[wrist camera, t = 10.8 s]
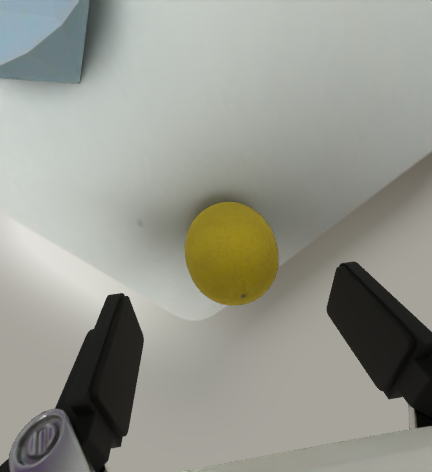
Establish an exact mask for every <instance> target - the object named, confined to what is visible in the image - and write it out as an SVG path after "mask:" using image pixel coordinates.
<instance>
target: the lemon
mask: <svg viewBox="0 0 432 472" xmlns="http://www.w3.org/2000/svg"><path fill="white" fill-rule="evenodd" d="M185 257H186V264H187V267H188V270H189V273H190V275H191V277H192V280H193V282H194V283H195V285H196V286H197V287H198V289H199V290H200V291H201V292H202V293H203V294H204V295H205V296H207V297H208V298H210V299H211V300H213V301H215V302H218V303H221V304H225V305H243V304H247V303H249V302H252V301H254V300H256V299H257V298H259V297H261V296H262V295H263V294H264V293H265V292H266V291H267V290H268V289H269V287H270V286H271V284H272V283H273V281H274V279H275V276H276V273H277V270H278V248H277V244H276V241H275V238H274V234H273V232H272V230H271V228H270V227H269V225H268V224H267V222H266V221H265V219H264V218H263V217H262V216H261V215H260V214H259V213H257V212H256V211H255V210H253V209H252V208H251V207H248V206H246V205H243V204H241V203H236V202H220V203H217V204H214V205H211V206H209V207H208V208H206V209H205V210H203V211H201V212H200V213H199V215H198V216H197V217H196V218H195V219H194V220H193V222H192V224H191V226H190V228H189V230H188V233H187V237H186V242H185Z"/></svg>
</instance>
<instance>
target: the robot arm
mask: <svg viewBox="0 0 432 472" xmlns="http://www.w3.org/2000/svg"><path fill="white" fill-rule="evenodd" d="M327 313H328V315H329V317H330V318H331V320H332V321H333V323H334V324H335V326H336V327H337V329H338V330H339V332H340V333H341V335H342V336H343V338H344V339H345V341H346V342H347V344H348V345H349V347H350V348H351V350H352V351H353V352H354V354H355V356H356V357H357V358H358V360H359V361H360V363H361V364H362V366H363V367H364V369H365V370H366V372H367V373H368V375H369V376H370V378H371V379H372V381H373V382H374V384H375V385H376V386H377V388H378V389H379V390H381V391H383V392H384V393H385V395H386V396H387V397H388V399H393V398H399V397H402V396H403V397H404V399H405V400H406V401H407V402H408V408H409V430H403V431H398V432H393V433H387V434H382V435H376V436H370V437H365V438H359V439H354V440H349V441H342V442H337V443H331V444H326V445H321V446H316V447H310V448H304V449H299V450H294V451H288V452H283V453H278V454H272V455H267V456H261V457H257V458H251V459H246V460H241V461H235V462H230V463H225V464H220V465H214V466H210V467H204V468H199V469H193V470H188V471H183V472H432V332H431V331H430V330H429V329H428V328H427V327H426V326H425V325H423V324H422V323H421V322H420V321H419V320H418V319H417V318H416V317H415V316H414V315H413V314H412V313H411V312H410V311H408V310H407V309H406V308H405V307H404V306H403V305H402V304H401V303H400V302H398V300H397V299H396V298H394V297H393V296H392V295H391V294H390V293H389V292H388V291H387V290H386V289H385V288H384V287H382V286H381V284H379V283H378V282H377V281H376V280H375V279H374V278H373V277H372V276H371V275H370V274H369V273H368V272H366V271H365V270H364V269H363V268H362V267H361V266H360V265H359V264H358V263H356V262H347V263H342V264H340V266H339V267H338V268H337V269H336V272H335V276H334V280H333V284H332V289H331V293H330V296H329V301H328V305H327ZM143 342H144V338H143V334H142V331H141V328H140V326H139V323H138V320H137V318H136V315H135V312H134V310H133V307H132V304H131V302H130V299H129V297H128V296H124V294H123V293H120V294H113V295H108V296H107V298H106V301H105V303H104V306H103V308H102V310H101V313H100V315H99V318H98V321H97V323H96V325H95V328H94V329H92V330H90V331H89V332H88V334H87V335H86V337H85V340H84V342H83V345H82V347H81V349H80V352H79V354H78V356H77V359H76V361H75V363H74V366H73V368H72V370H71V373H70V375H69V377H68V380H67V382H66V384H65V387H64V389H63V391H62V394H61V396H60V398H59V401H58V403H57V405H56V408H55V409H50V410H48V411H45V412H43V413H41V414H39V415H38V416H36V417H35V418H33V419H32V420H31V421H30V422H29V423H28V424H27V425H26V426H25V427H24V428H23V429H22V431H21V432H20V433H19V434H18V436H17V438H16V439H15V441H14V443H13V445H12V448H11V451H10V454H9V459H8V460H6V461H5V462H4V463H3V464H2V465H1V466H0V472H110V470H109V468H108V466H107V464H106V462H107V461H108V458H109V454H110V449H111V448H115V447H120V446H121V442H122V437H123V436H126V435H127V433H128V429H129V423H130V418H131V412H132V406H133V400H134V394H135V388H136V383H137V377H138V372H139V366H140V360H141V355H142V349H143Z"/></svg>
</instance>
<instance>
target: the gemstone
mask: <svg viewBox="0 0 432 472" xmlns="http://www.w3.org/2000/svg"><path fill="white" fill-rule="evenodd" d="M89 2H90V0H0V78H4V79H17V80H31V81H46V82H62V83H77V84H80V76H81V68H82V60H83V51H84V43H85V35H86V27H87V19H88V10H89Z"/></svg>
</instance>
